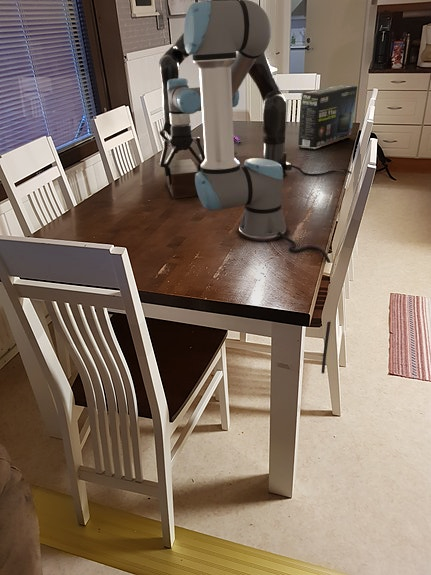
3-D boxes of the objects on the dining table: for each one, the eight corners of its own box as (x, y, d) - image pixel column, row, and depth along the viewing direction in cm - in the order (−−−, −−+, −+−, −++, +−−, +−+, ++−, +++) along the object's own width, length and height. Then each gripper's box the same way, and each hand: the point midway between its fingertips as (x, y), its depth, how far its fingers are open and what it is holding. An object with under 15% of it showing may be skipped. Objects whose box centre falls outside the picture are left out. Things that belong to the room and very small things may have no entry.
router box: (314, 151, 231) (318, 94, 217) (296, 148, 237) (299, 92, 224) (352, 138, 251) (358, 85, 238) (335, 135, 258) (340, 83, 245)
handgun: (220, 136, 265) (220, 133, 264) (233, 135, 266) (233, 132, 265) (227, 145, 248) (227, 141, 247) (241, 143, 249) (241, 140, 248)
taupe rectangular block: (167, 184, 195) (164, 161, 190) (192, 181, 197) (190, 159, 192) (173, 198, 180) (171, 174, 175) (200, 195, 182) (199, 171, 177)
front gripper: (209, 119, 175) (211, 176, 186) (147, 125, 171) (154, 182, 182) (213, 123, 168) (215, 181, 180) (150, 129, 164) (156, 188, 176)
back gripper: (186, 107, 190) (189, 149, 199) (154, 109, 188) (159, 152, 197) (189, 110, 184) (192, 153, 193) (157, 112, 181) (161, 156, 190)
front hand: (184, 182), depth 181 cm, fingers closed on taupe rectangular block, 11 cm apart
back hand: (175, 152), depth 195 cm, fingers closed
